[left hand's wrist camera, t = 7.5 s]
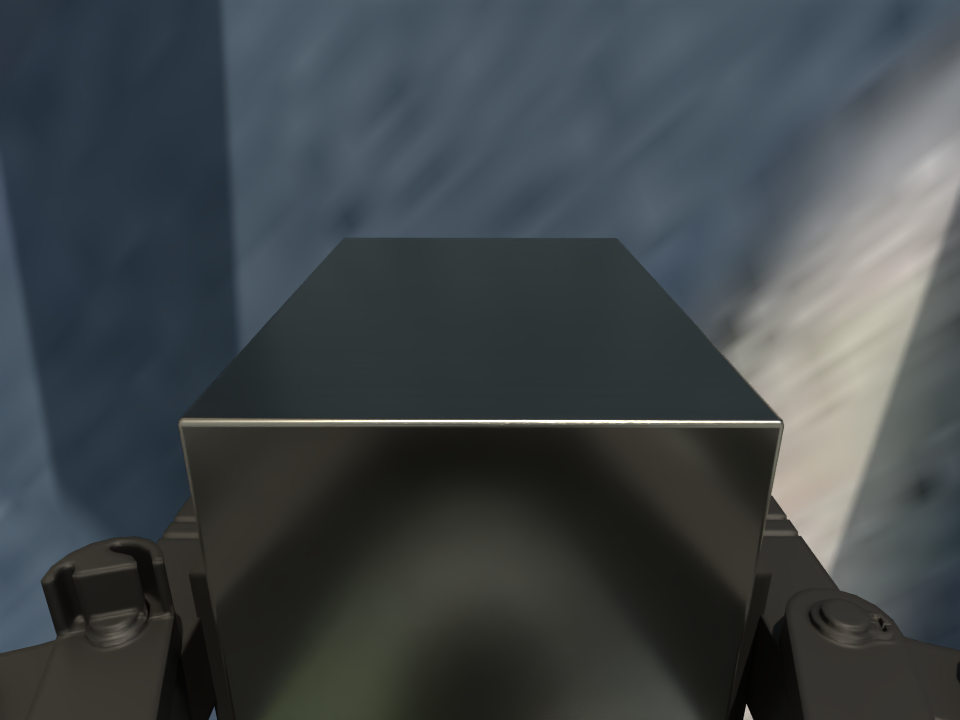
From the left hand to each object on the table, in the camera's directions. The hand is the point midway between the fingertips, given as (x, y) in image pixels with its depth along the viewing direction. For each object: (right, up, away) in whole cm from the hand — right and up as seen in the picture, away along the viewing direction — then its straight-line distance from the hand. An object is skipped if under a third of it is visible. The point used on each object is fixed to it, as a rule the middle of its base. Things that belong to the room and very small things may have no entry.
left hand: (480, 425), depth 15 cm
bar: (0, -7, +4) cm, 8 cm away
